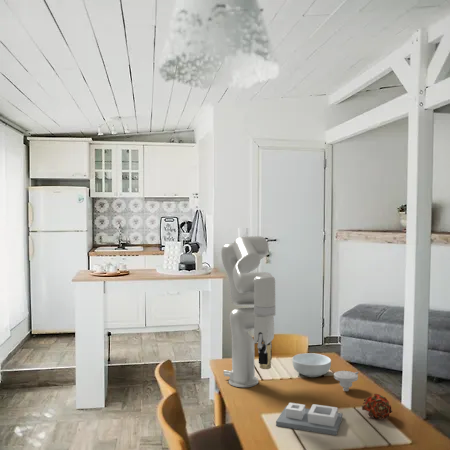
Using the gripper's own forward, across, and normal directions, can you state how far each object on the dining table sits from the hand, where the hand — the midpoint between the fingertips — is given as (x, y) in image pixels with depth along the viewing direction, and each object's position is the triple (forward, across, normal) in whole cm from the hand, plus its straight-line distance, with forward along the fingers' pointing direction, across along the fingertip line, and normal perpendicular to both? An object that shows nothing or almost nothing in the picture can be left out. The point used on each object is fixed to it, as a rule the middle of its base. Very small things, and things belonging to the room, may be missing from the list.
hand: (265, 361), depth 169 cm
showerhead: (+19, -34, +24) cm, 46 cm away
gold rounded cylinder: (+2, 0, 0) cm, 2 cm away
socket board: (+19, 0, +16) cm, 25 cm away
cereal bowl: (+20, -48, +7) cm, 52 cm away
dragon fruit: (+19, -12, +37) cm, 43 cm away
